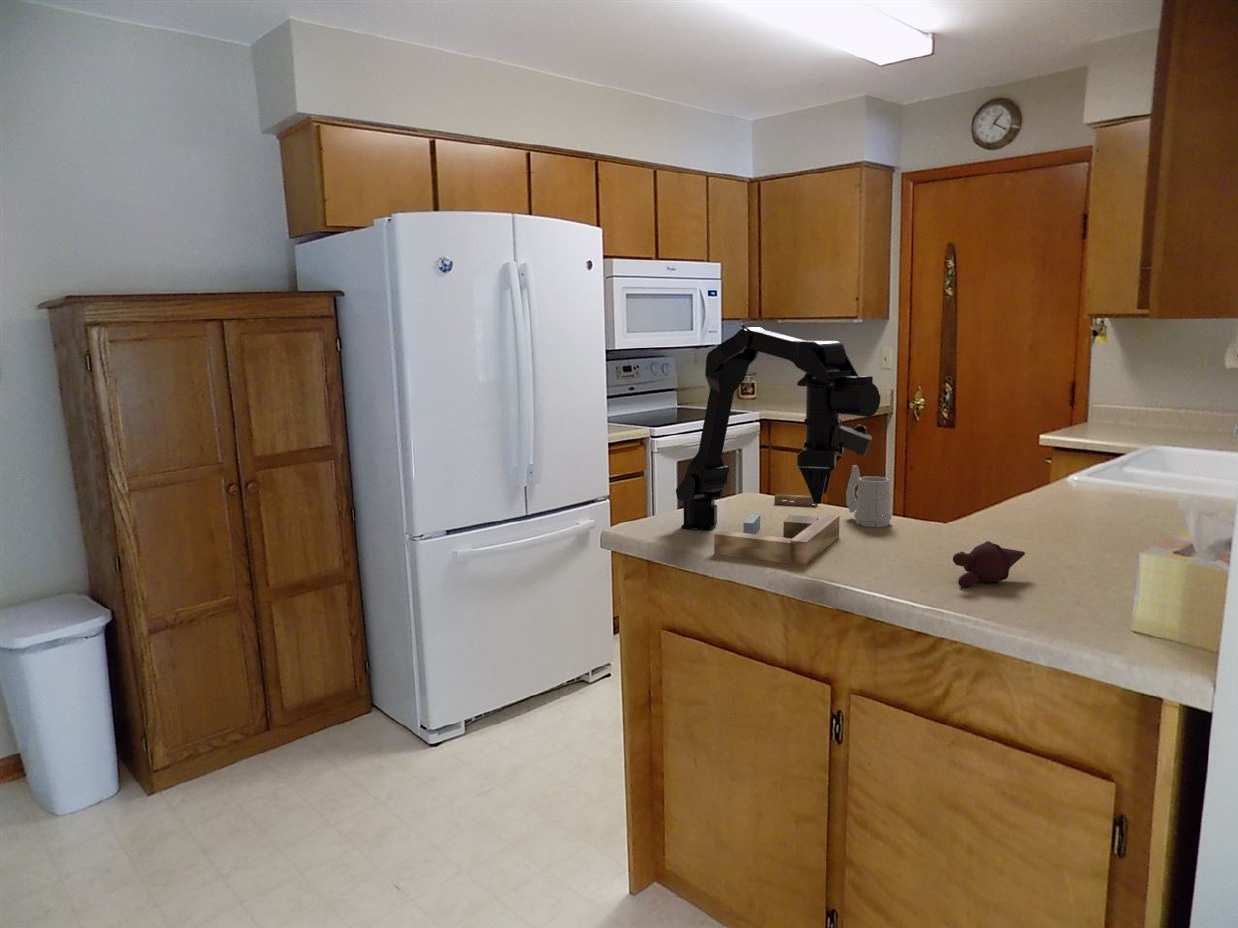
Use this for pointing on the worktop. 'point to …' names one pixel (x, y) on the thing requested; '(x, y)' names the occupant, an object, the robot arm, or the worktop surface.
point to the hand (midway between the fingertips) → (820, 498)
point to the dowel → (796, 498)
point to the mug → (869, 499)
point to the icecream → (986, 563)
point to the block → (796, 525)
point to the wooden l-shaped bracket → (780, 543)
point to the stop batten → (752, 524)
